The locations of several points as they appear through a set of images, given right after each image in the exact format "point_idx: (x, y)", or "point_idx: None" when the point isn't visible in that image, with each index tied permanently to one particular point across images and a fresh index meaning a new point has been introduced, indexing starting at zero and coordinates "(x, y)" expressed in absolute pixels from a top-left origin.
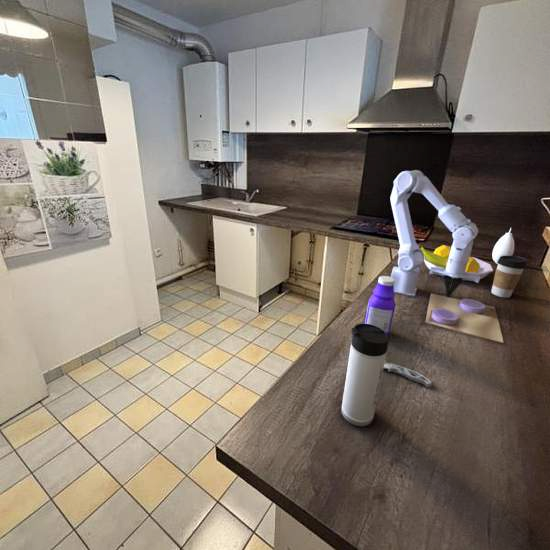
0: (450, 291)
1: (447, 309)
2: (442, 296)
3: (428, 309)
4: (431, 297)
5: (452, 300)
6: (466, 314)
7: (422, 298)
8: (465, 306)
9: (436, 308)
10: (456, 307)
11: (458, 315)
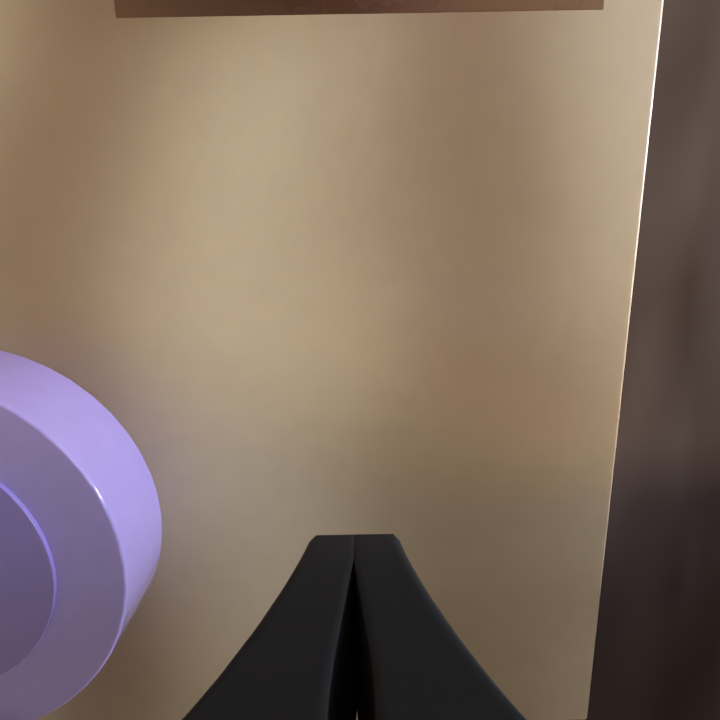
0: (329, 626)
1: (319, 236)
2: None
3: (650, 16)
4: (582, 574)
5: None
6: (10, 221)
7: (706, 497)
8: (19, 400)
9: (504, 160)
10: (190, 415)
11: (123, 85)
